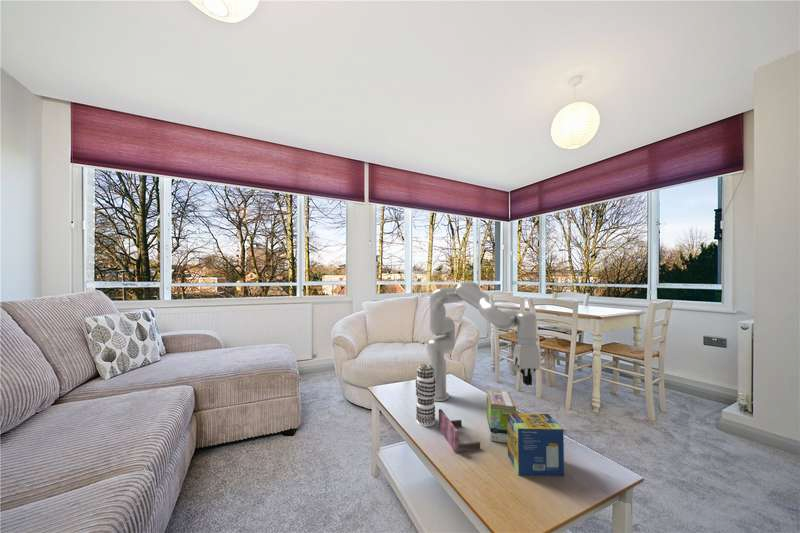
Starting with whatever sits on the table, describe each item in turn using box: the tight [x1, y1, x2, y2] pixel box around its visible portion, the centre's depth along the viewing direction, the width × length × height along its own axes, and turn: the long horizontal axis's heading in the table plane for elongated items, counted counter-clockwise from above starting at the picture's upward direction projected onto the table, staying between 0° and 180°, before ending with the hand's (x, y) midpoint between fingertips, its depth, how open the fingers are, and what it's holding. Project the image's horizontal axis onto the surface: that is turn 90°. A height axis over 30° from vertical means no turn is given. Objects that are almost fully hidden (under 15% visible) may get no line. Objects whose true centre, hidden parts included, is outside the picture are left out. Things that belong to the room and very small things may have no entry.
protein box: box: [507, 413, 565, 477], centre depth 100 cm, size 10×15×16 cm
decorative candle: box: [415, 363, 436, 427], centre depth 131 cm, size 9×9×25 cm
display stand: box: [438, 408, 481, 454], centre depth 117 cm, size 18×10×8 cm, turn 12°
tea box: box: [486, 389, 517, 444], centre depth 121 cm, size 15×10×15 cm, turn 168°
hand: (527, 383), depth 124 cm, fingers closed
